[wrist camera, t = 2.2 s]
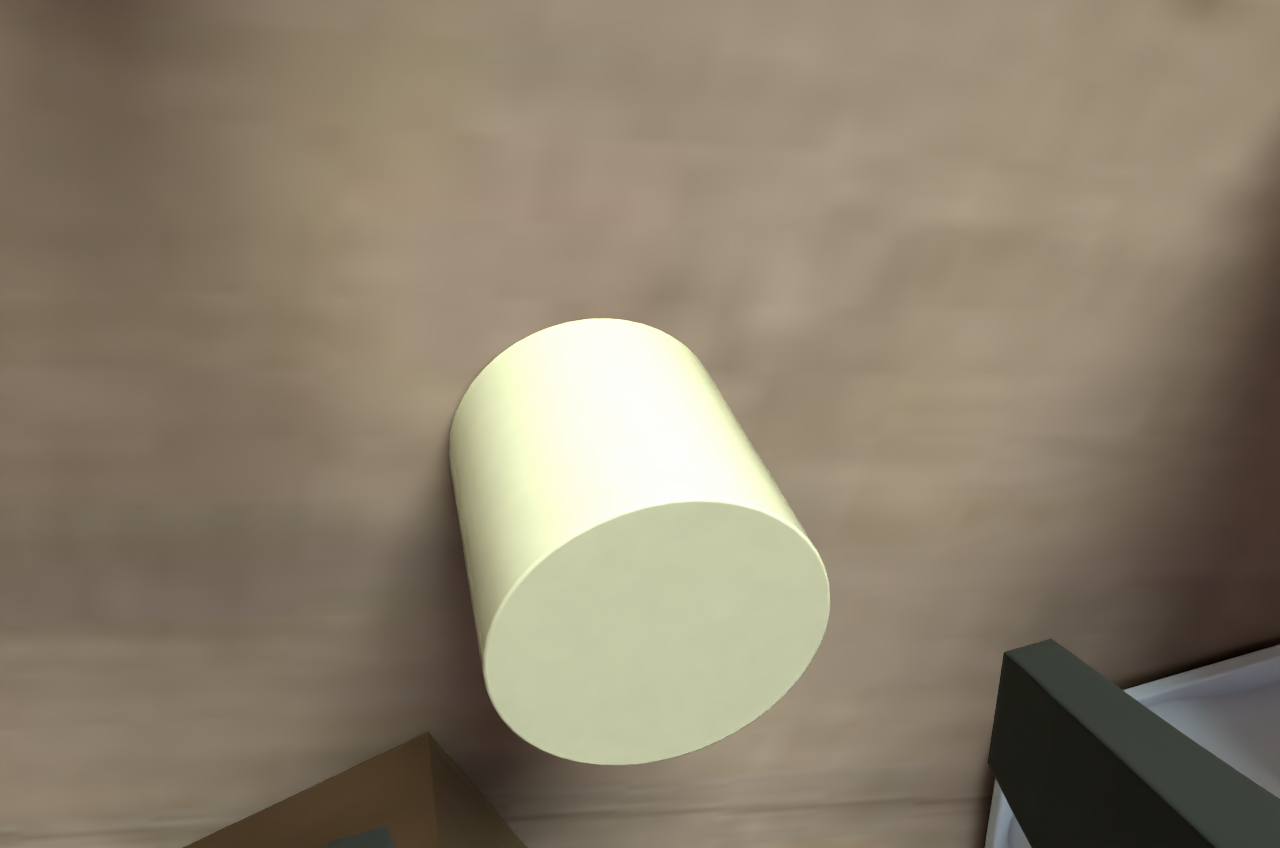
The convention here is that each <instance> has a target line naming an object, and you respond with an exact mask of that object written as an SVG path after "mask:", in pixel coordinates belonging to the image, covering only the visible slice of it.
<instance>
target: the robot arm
mask: <svg viewBox="0 0 1280 848" xmlns="http://www.w3.org/2000/svg"><path fill="white" fill-rule="evenodd" d="M988 764H989V766H990V768H991V770H992V772H993V774H994V776H995V784H994V791H993V797H992V804H991V810H990V817H989V823H988V829H987V836H986V842H985V848H1280V644H1279V645H1276V646H1273V647H1269V648H1266V649H1262V650H1259V651H1255V652H1252V653H1249V654H1245V655H1242V656H1238V657H1235V658H1231V659H1228V660H1224V661H1221V662H1218V663H1214V664H1211V665H1207V666H1204V667H1200V668H1197V669H1194V670H1190V671H1187V672H1183V673H1180V674H1176V675H1173V676H1169V677H1166V678H1163V679H1159V680H1156V681H1152V682H1149V683H1145V684H1142V685H1139V686H1135V687H1132V688H1128V689H1125V690H1122V689H1120V688H1119V687H1118V686H1116V685H1115V684H1113V683H1112V682H1111V681H1109V680H1108V679H1107V678H1105V677H1104V676H1102V675H1101V674H1100V673H1098V672H1097V671H1096V670H1094V669H1093V668H1091V667H1090V666H1089V665H1087V664H1086V663H1085V662H1083V661H1082V660H1080V659H1079V658H1078V657H1076V656H1075V655H1073V654H1072V653H1071V652H1069V651H1068V650H1066V649H1065V648H1064V647H1062V646H1061V645H1059V644H1058V643H1057V642H1055V641H1054V640H1052V639H1049V640H1046V641H1042V642H1039V643H1035V644H1031V645H1028V646H1024V647H1021V648H1017V649H1014V650H1010V651H1007V652H1004V656H1003V662H1002V669H1001V676H1000V683H999V689H998V696H997V703H996V710H995V716H994V723H993V730H992V737H991V743H990V750H989V757H988ZM325 848H396V847H395V845H394V842H393V840H392V837H391V835H390V833H389V830H388V828H387V826H385V827H381V828H378V829H374V830H371V831H367V832H364V833H360V834H357V835H353V836H350V837H346V838H342V839H339V840H335V841H332V842H329V843H328V844H327V846H326V847H325Z"/></svg>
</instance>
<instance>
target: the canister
mask: <svg viewBox="0 0 1280 848" xmlns="http://www.w3.org/2000/svg"><path fill="white" fill-rule="evenodd" d="M449 462H450V468H451V474H452V480H453V487H454V493H455V499H456V506H457V512H458V518H459V525H460V531H461V537H462V544H463V550H464V556H465V563H466V569H467V575H468V581H469V588H470V594H471V600H472V607H473V613H474V619H475V626H476V632H477V638H478V645H479V651H480V657H481V664H482V670H483V676H484V681H485V686H486V690H487V693H488V695H489V698H490V700H491V703H492V705H493V707H494V708H495V710H496V711H497V713H498V714H499V716H500V718H501V719H502V720H503V721H504V722H505V723H506V724H507V726H508V727H509V728H510V729H511V730H512V731H513V732H514V733H515V734H517V735H518V736H519V737H521V738H522V739H523V740H524V741H526V742H527V743H529V744H531V745H532V746H534V747H536V748H538V749H540V750H541V751H544V752H546V753H549V754H551V755H554V756H556V757H559V758H563V759H567V760H571V761H574V762H579V763H586V764H594V765H612V766H619V765H636V764H643V763H650V762H657V761H661V760H666V759H670V758H674V757H678V756H681V755H684V754H687V753H690V752H694V751H697V750H699V749H702V748H704V747H706V746H709V745H711V744H714V743H716V742H718V741H720V740H722V739H724V738H726V737H728V736H730V735H732V734H734V733H736V732H737V731H739V730H740V729H742V728H744V727H745V726H747V725H748V724H750V723H751V722H753V721H755V720H756V719H757V718H758V717H760V716H761V715H762V714H764V713H765V712H766V711H768V710H769V709H770V708H771V707H772V706H774V705H775V704H776V703H777V702H778V701H779V700H780V699H781V698H782V697H783V696H785V695H786V693H787V692H788V691H789V690H790V689H791V688H792V687H793V686H794V684H795V683H796V682H797V681H798V680H799V679H800V677H801V676H802V674H803V673H804V672H805V670H806V669H807V668H808V666H809V665H810V663H811V661H812V659H813V657H814V656H815V654H816V652H817V650H818V648H819V646H820V643H821V641H822V638H823V636H824V634H825V630H826V626H827V622H828V618H829V609H830V588H829V580H828V576H827V573H826V569H825V565H824V563H823V561H822V559H821V557H820V555H819V553H818V551H817V549H816V548H815V546H814V545H813V543H812V541H811V540H810V538H809V536H808V535H807V533H806V531H805V530H804V528H803V527H802V525H801V523H800V522H799V520H798V518H797V517H796V515H795V514H794V512H793V510H792V509H791V507H790V505H789V504H788V502H787V500H786V499H785V497H784V496H783V494H782V492H781V491H780V489H779V487H778V486H777V484H776V483H775V481H774V479H773V478H772V476H771V474H770V473H769V471H768V469H767V468H766V466H765V465H764V463H763V461H762V460H761V458H760V456H759V455H758V453H757V452H756V450H755V448H754V447H753V445H752V443H751V442H750V440H749V438H748V437H747V435H746V434H745V432H744V430H743V429H742V427H741V425H740V424H739V422H738V421H737V419H736V417H735V416H734V414H733V412H732V411H731V409H730V407H729V406H728V404H727V403H726V401H725V399H724V398H723V396H722V394H721V393H720V391H719V390H718V388H717V386H716V385H715V383H714V381H713V380H712V378H711V376H710V375H709V373H708V372H707V370H706V369H705V367H704V366H703V365H702V363H701V362H700V360H699V359H698V358H697V357H696V356H695V355H694V354H693V353H692V352H691V351H690V350H689V349H688V348H687V347H686V346H685V345H683V344H682V343H680V342H679V341H678V340H676V339H675V338H673V337H672V336H670V335H668V334H666V333H664V332H662V331H660V330H658V329H655V328H653V327H650V326H647V325H644V324H641V323H636V322H632V321H627V320H619V319H608V318H601V319H584V320H577V321H571V322H566V323H562V324H559V325H555V326H552V327H549V328H546V329H544V330H541V331H539V332H536V333H534V334H531V335H530V336H528V337H526V338H524V339H522V340H520V341H519V342H517V343H515V344H513V345H512V346H511V347H509V348H508V349H506V350H505V351H504V352H502V353H501V354H499V355H498V356H497V357H496V358H495V359H494V360H493V361H492V362H491V363H489V364H488V365H487V366H486V367H485V368H484V369H483V371H482V372H481V373H480V374H479V375H478V376H477V378H476V379H475V380H474V381H473V382H472V384H471V386H470V387H469V389H468V390H467V392H466V393H465V395H464V396H463V398H462V401H461V403H460V405H459V407H458V409H457V411H456V414H455V417H454V421H453V424H452V427H451V433H450V440H449Z"/></svg>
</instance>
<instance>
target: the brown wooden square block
mask: <svg viewBox="0 0 1280 848" xmlns="http://www.w3.org/2000/svg"><path fill="white" fill-rule="evenodd" d="M385 826H387V828H388V830H389V833H390V835H391V837H392V840H393V842H394V845H395V847H396V848H526V847H525V846H524V844H523V843H522V842H521V841H520V840H519V838H518V837H517V836H516V835H515V834H514V833H513V831H512V830H511V829H510V828H509V827H508V826H507V824H506V823H505V822H504V821H503V820H502V819H501V817H500V816H499V815H498V814H497V813H496V812H495V810H494V809H493V808H492V807H491V806H490V805H489V803H488V802H487V801H486V800H485V799H484V798H483V796H482V795H481V794H480V793H479V792H478V791H477V789H476V788H475V787H474V786H473V785H472V783H471V782H470V781H469V780H468V779H467V778H466V776H465V775H464V774H463V773H462V772H461V771H460V769H459V768H458V767H457V766H456V765H455V764H454V762H453V761H452V760H451V759H450V758H449V757H448V755H447V754H446V753H445V752H444V751H443V750H442V748H441V747H440V746H439V745H438V744H437V743H436V741H435V740H434V739H433V738H432V737H431V736H430V734H429V733H426V734H424V735H422V736H420V737H418V738H416V739H414V740H411V741H409V742H407V743H405V744H403V745H401V746H399V747H396V748H394V749H392V750H390V751H388V752H386V753H384V754H382V755H379V756H377V757H375V758H373V759H371V760H369V761H367V762H365V763H362V764H360V765H358V766H356V767H354V768H352V769H350V770H348V771H345V772H343V773H341V774H339V775H337V776H335V777H333V778H331V779H328V780H326V781H324V782H322V783H320V784H318V785H316V786H314V787H311V788H309V789H307V790H305V791H303V792H301V793H299V794H296V795H294V796H292V797H290V798H288V799H286V800H284V801H282V802H279V803H277V804H275V805H273V806H271V807H269V808H267V809H265V810H262V811H260V812H258V813H256V814H254V815H252V816H250V817H248V818H245V819H243V820H241V821H239V822H237V823H235V824H233V825H231V826H228V827H226V828H224V829H222V830H220V831H218V832H216V833H214V834H211V835H209V836H207V837H205V838H203V839H201V840H199V841H196V842H194V843H192V844H190V845H188V846H186V847H184V848H325V847H326V846H327V844H328V843H329V842H332V841H335V840H339V839H342V838H346V837H350V836H353V835H357V834H360V833H364V832H367V831H371V830H374V829H378V828H381V827H385Z"/></svg>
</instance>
